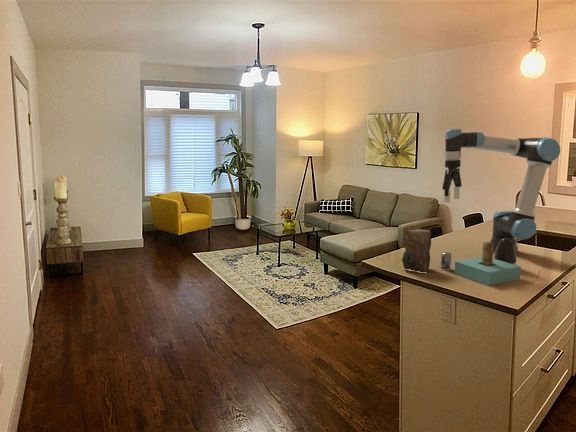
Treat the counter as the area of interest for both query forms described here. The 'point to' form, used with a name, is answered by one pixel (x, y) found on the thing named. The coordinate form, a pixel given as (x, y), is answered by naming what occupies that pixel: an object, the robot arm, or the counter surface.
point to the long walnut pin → (487, 253)
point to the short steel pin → (446, 260)
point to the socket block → (487, 271)
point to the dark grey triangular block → (506, 251)
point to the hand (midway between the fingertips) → (451, 200)
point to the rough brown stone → (417, 250)
